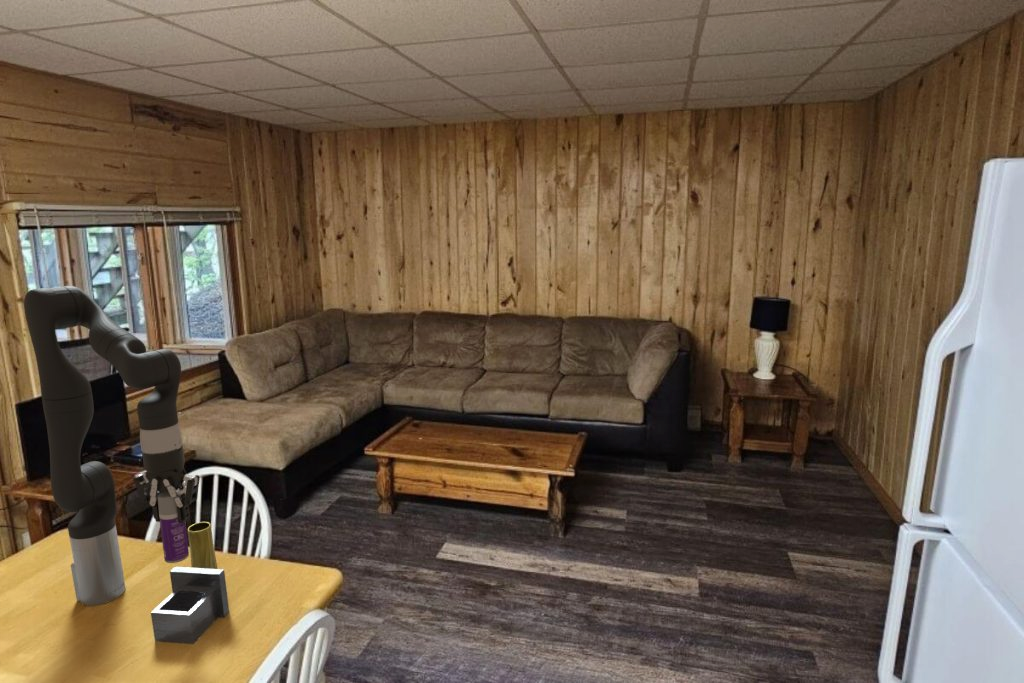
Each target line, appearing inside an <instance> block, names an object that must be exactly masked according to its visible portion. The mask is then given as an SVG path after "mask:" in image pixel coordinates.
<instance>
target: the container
mask: <svg viewBox="0 0 1024 683" xmlns="http://www.w3.org/2000/svg"><path fill="white" fill-rule="evenodd" d="M177 491H179V489H178V490H176V492H177ZM157 496H158V507H159V519H160V522H159V526H160V532H161V543H162V550H163V559H164V562H165V563H167V564H177V563H179V562H182V561H184V560H186V559H187V558H189V555H190V550H189V541H188V532H187V526H186V525H187V524H186V521H185V522H184V523H179V520H178V513H177V507H178V506H177V504H176V502H175V499H174V498H172V497H171V495H170V493H168V492H161V493H160V494H158V495H157ZM180 497H181V495H180ZM181 499H182V498H181Z"/></svg>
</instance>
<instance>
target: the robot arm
mask: <svg viewBox="0 0 1024 683" xmlns="http://www.w3.org/2000/svg"><path fill="white" fill-rule="evenodd" d="M23 307H24V308H23V309H24V310H23V311H24V315H25V320H26V325H27V329H28V332H29V336H30V339H31V343H32V347H33V352H34V355H35V361H36V365H37V372H38V377H39V385H40V394H41V402H42V408H43V414H44V418H45V423H46V424H45V425H46V430H47V439H48V446H49V447H48V448H49V462H50V463H49V465H50V468H49V469H50V470H49V471H50V488H51V489H50V490H51V493H52V494H51V495H52V497H53V499H54V502H55V504H56V505H57V506H58V507H59V508H60V509H61V510H62V511H64V512H67V513H73V512H77V511H78V512H77V513H76V515H75V516H74V517H72V519H70V521H69V523H68V525H67V530H68V536H69V542H70V546H71V547H70V549H71V553H72V559H73V562H72V563H71V564H70V568H71V569H70V571H71V574H72V575H71V576H72V582H73V586H74V592H75V598H76V599H75V600H76V601H77V600H78V602H80V603H81V604H82V605H84V606H98V605H99V606H100V605H102V604H106V603H108V602H112V601H114V600H115V599H117V598H118V597H120V596H121V595H123V593H124V592H125V590H126V584H125V582H126V581H125V576H124V570H123V569H124V568H123V563H122V562H123V561H122V556H121V550H120V544H119V538H118V532H117V525H116V524H117V523H116V516H117V514H118V512H117V511H118V506H117V499H116V498H117V496H116V495H117V494H116V487H115V486H116V485H115V480H114V477H113V474H112V472H111V470H110V468H109V467H108V465H106V464H105V463H103V462H101V461H97V460H94V461H93V460H92V461H89V462H87V463H86V462H85V463H84V464H81V452H82V451H81V450H82V446H83V443H84V441H85V438H86V436H87V433H88V431H89V428H90V427H91V423H92V421H93V417H94V413H95V408H94V398H93V392H92V391H93V390H92V386H91V382H90V381H89V379H88V378H87V377H86V375H85V374H84V373H83V372H82V371H81V369H79V368H78V367H77V366H76V365H75V364H74V363H72V361H71V360H70V359H69V358H67V356H66V354H65V353H64V352H63V351H62V348H61V347H60V344H59V340H58V337H57V333H56V332H57V330H61V329H68V328H75V327H78V326H79V327H80V326H81V327H83V328H86V329H88V341H89V344H90V346H91V348H92V349H93V351H94V352H95V353H96V354H97V355H98V356H100V357H101V358H103V359H104V360H105V361H107V362H108V363H110V364H111V365H112V366H113V367H114V368H115V370H116V372H118V374H119V376H120V377H121V380H122V381H123V383H124V384H125V385H126V386H128V387H129V388H132V389H135V390H144V389H149V388H153V387H154V388H153V391H152V392H151V393H150V394H149V395H147V396H145V397H143V398H142V399H140V400H139V401H138V402H137V408H136V410H137V418H138V425H139V441H140V450H141V455H142V462H143V469H144V471H145V472H141V473H140V474H138V475H136V476H135V477H133V482H134V485H135V487H136V489H137V493H138V495H139V497H140V500H141V502H142V503H144V504H146V503H148V504H149V505H150V506H151V508H152V509H151V510H152V516H153V519H155V522H157V523H160V519H159V507H158V496H157V495H158V494H160V493H161V492H168V493H170V495H171V497H172V498H174V499H175V502H176V504H177V506H178V507H177V513H178V520H179V523H184V522H185V523H186V522H187V521H188V519H189V518H190V516H191V515H190V507H189V506H190V505H191V504H192V503H193V502H195V501H196V500H198V493H199V486H200V480H201V479H200V478H201V477H200V475H198V474H194V475H190V474H188V473H187V471H186V469H185V467H184V466H185V463H186V461H185V458H186V457H185V452H184V444H183V436H182V431H181V427H180V423H179V417H178V408H177V399H178V395H179V388H180V383H181V378H182V377H181V376H182V375H181V374H182V365H181V364H182V363H181V361H180V358H179V357H178V355H177V354H176V353H175V352H174V351H172V350H171V349H167V348H161V349H157V350H151V351H147V347H146V345H145V343H144V342H143V341H142V340H141V339H139V338H138V337H136V335H134V334H132V333H130V332H129V331H128V330H126V329H125V328H123V327H121V326H120V325H119V324H117V323H116V322H115V321H114V320H113V319H112V318H111V317H110V316H109V315H108V314H107V313H106V312H105V311H104V309H102V307H101V306H99V305H98V304H97V302H95V300H94V299H92V297H90V295H89V294H88V293H86V292H85V291H84V290H83V289H81V288H79V287H77V286H73V285H66V286H65V285H63V286H55V287H53V286H52V287H43V288H33V289H30V290H28V291H27V292H26V294H25V296H24V300H23ZM178 489H179V491H177V492H176V490H178ZM180 495H181V497H180ZM181 498H182V499H181Z"/></svg>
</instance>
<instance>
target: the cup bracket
mask: <svg viewBox="0 0 1024 683" xmlns="http://www.w3.org/2000/svg"><path fill="white" fill-rule="evenodd" d="M225 573H226V572H225V569H221V568H218V569H208V568H192V567H190V566H189V567H187V566H175V567H173V568H171V570H170V571H169V575H170V584H171V589H172V593H170V595H168V596H167V597H166V598H165V599H164V600H163V601H162V602H160V604H158V605H157V606H156V607H155V608H154V609H153V610H152V611H151V612H150V618H151V623H152V630H153V636H154V638H153V639H154V642H160V643H172V644H173V643H174V644H175V643H176V644H185V645H186V644H187V645H194V644H195V643H196V642H197V641H199V639H200V638H201V637H202V636H203V634H205V632H207V630H208V629H210V627H211V626H212V625H213V624H214V623H215V621H217V620H218V619H225V618H226V617H227V616H228V615H229V614H230V609H229V608H230V606H229V598H228V597H229V596H228V591H227V582H226V574H225Z"/></svg>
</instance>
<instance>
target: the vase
mask: <svg viewBox="0 0 1024 683" xmlns="http://www.w3.org/2000/svg"><path fill="white" fill-rule="evenodd" d="M187 540H188V547H189V554H190V564H191V567H190V568H208V569H219V568H218V563H217V559H216V558H217V557H216V551H215V546H214V539H213V531H212V524H211V523H210V522H209V521H200V522H196V523H194V524H191V525H189V526H188V528H187Z"/></svg>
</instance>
